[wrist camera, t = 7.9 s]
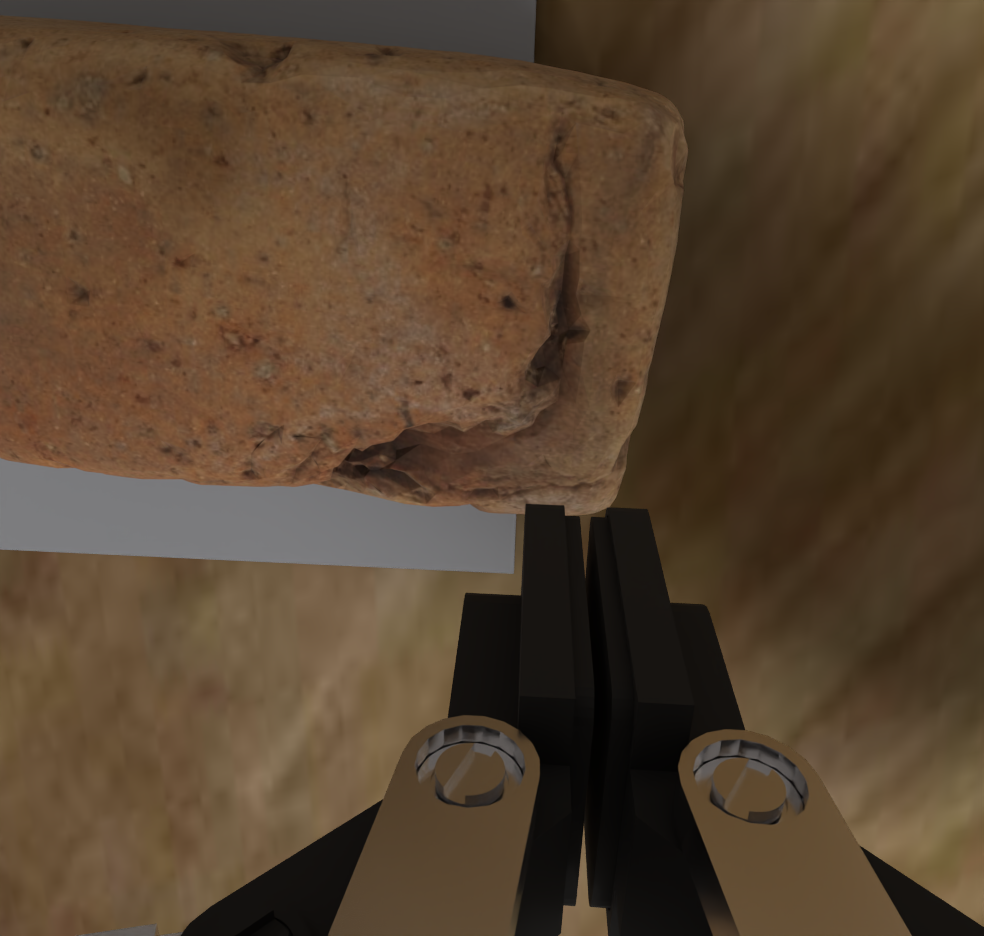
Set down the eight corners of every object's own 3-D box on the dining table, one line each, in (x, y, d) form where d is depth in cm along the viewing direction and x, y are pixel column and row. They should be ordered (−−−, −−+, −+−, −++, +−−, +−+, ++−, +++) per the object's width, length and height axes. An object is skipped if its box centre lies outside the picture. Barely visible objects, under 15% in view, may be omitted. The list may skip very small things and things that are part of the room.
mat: (538, -39, 22) (537, -40, 21) (514, 565, 30) (513, 573, 29) (-297, -55, 23) (-314, -58, 22) (-107, 536, 30) (-117, 543, 30)
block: (674, 67, 22) (-89, -9, 23) (727, 83, 16) (-358, -24, 16) (611, 445, 27) (-14, 378, 27) (631, 580, 20) (-195, 490, 21)
